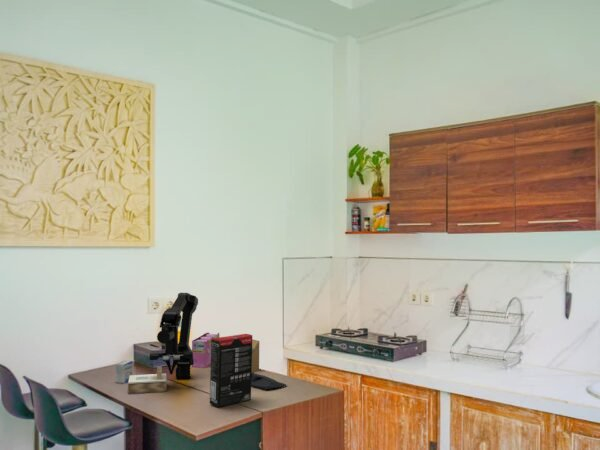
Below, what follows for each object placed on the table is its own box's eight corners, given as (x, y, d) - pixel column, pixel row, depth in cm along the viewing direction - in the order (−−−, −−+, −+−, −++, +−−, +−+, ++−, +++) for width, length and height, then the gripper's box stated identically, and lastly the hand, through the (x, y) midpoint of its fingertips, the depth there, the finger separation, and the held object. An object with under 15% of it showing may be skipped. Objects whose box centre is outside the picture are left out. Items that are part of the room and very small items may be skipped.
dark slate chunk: (262, 393, 254) (262, 382, 254) (234, 383, 271) (234, 372, 271) (290, 387, 264) (290, 377, 264) (261, 377, 281) (261, 367, 281)
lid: (166, 374, 267) (166, 365, 267) (166, 381, 255) (166, 372, 255) (129, 376, 263) (129, 367, 263) (128, 383, 251) (128, 374, 251)
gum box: (207, 356, 322) (207, 332, 322) (221, 357, 320) (221, 332, 320) (191, 367, 298) (191, 340, 298) (206, 368, 297) (206, 341, 297)
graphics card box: (242, 396, 249) (243, 332, 249) (253, 400, 244) (253, 334, 244) (209, 404, 237) (209, 337, 237) (219, 408, 232) (219, 340, 232)
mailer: (166, 384, 267) (166, 375, 267) (166, 391, 255) (166, 382, 255) (129, 386, 263) (129, 377, 263) (128, 393, 252) (128, 384, 251)
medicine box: (124, 383, 268) (124, 364, 268) (115, 382, 269) (115, 364, 269) (132, 378, 276) (132, 360, 276) (124, 378, 277) (124, 360, 277)
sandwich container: (225, 373, 286) (225, 343, 286) (247, 367, 298) (247, 338, 298) (237, 376, 281) (237, 345, 281) (259, 370, 293) (259, 340, 293)
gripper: (191, 334, 271) (191, 368, 271) (150, 336, 267) (150, 370, 267) (193, 339, 260) (192, 374, 261) (149, 341, 256) (149, 377, 256)
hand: (171, 374), depth 261 cm, fingers closed
